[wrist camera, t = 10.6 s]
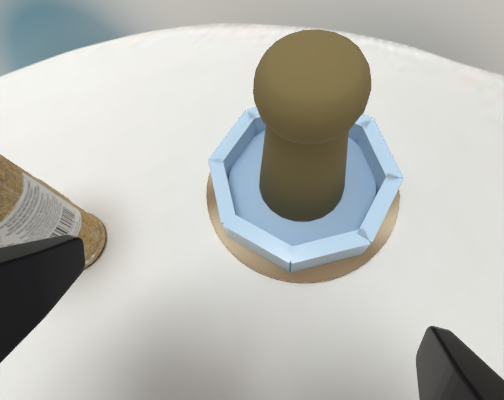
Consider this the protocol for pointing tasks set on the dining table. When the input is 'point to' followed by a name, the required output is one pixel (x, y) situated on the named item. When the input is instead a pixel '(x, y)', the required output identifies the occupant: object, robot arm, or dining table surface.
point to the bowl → (303, 233)
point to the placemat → (308, 274)
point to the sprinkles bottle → (42, 213)
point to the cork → (308, 120)
